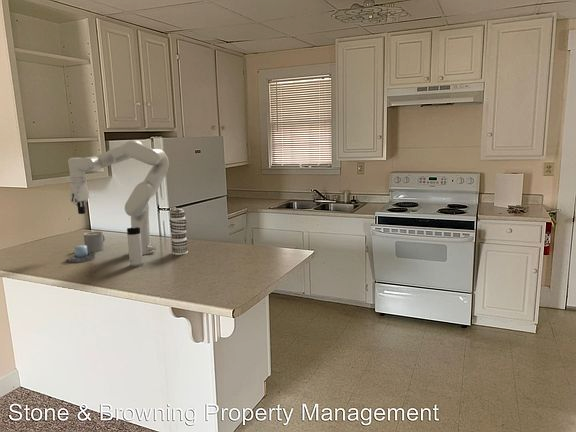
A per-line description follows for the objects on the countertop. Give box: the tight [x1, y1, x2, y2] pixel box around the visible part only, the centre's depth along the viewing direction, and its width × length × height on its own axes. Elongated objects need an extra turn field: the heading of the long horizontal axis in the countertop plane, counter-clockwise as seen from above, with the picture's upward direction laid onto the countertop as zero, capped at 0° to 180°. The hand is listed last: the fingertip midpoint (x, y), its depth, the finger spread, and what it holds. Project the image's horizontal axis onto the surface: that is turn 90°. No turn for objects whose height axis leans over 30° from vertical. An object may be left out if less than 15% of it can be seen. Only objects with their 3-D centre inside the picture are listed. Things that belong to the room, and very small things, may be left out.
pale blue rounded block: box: [74, 244, 88, 257], centre depth 233 cm, size 6×6×7 cm
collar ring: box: [67, 252, 96, 263], centre depth 234 cm, size 13×13×2 cm
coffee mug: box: [83, 230, 106, 253], centre depth 252 cm, size 13×10×10 cm
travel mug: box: [126, 227, 144, 268], centre depth 219 cm, size 6×7×20 cm
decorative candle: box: [169, 207, 189, 256], centre depth 240 cm, size 9×9×25 cm
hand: (81, 213), depth 239 cm, fingers closed
